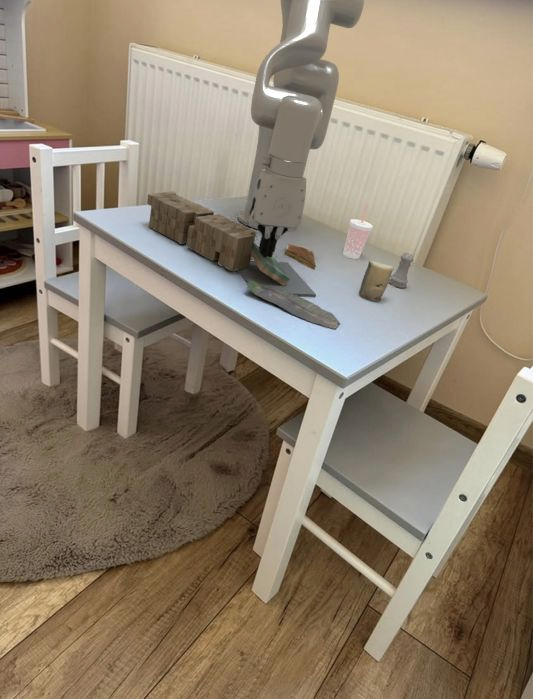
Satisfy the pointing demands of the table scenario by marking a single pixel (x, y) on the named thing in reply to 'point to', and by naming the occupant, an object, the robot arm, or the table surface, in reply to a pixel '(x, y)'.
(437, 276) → the table surface
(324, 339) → the table surface
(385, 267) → the beige rounded chunk
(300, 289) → the mat
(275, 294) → the mossy stone slab
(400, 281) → the rook chess piece
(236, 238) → the block tower
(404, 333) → the table surface
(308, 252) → the shard
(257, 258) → the plaque
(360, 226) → the beverage cup
